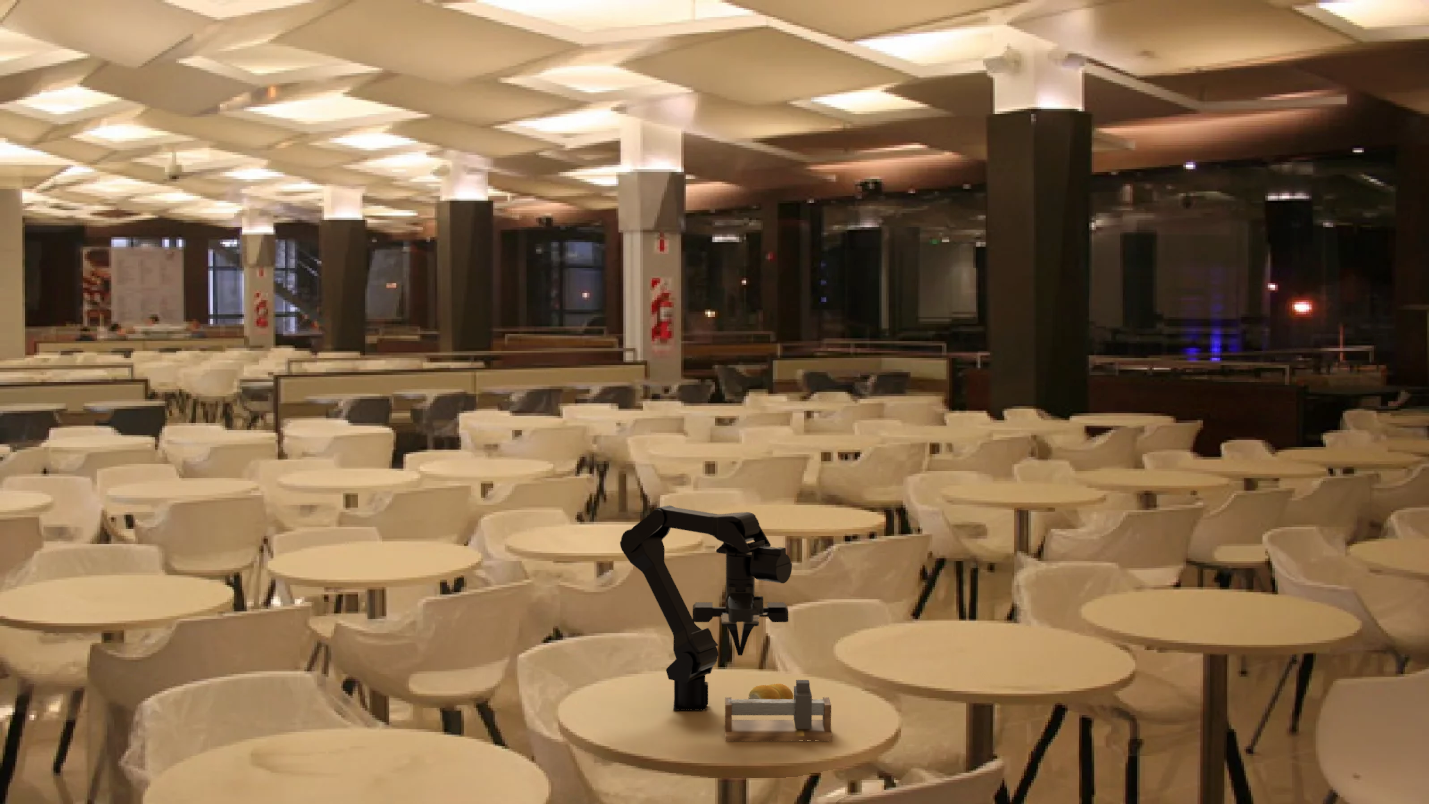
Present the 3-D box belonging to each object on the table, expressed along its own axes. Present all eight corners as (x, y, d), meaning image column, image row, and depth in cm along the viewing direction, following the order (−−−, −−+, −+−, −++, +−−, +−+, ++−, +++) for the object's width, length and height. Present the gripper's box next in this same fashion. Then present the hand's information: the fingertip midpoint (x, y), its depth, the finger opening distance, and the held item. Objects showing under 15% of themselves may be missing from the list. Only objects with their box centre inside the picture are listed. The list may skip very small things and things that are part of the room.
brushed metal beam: (728, 717, 275) (728, 701, 275) (728, 712, 278) (728, 697, 278) (827, 717, 276) (827, 701, 275) (826, 712, 279) (826, 697, 278)
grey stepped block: (795, 728, 274) (795, 686, 273) (793, 718, 280) (793, 677, 280) (811, 728, 274) (811, 686, 273) (809, 718, 280) (809, 677, 280)
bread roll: (800, 704, 297) (800, 685, 296) (765, 711, 292) (765, 692, 291) (777, 694, 303) (777, 675, 303) (741, 701, 299) (741, 682, 298)
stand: (725, 741, 272) (725, 708, 272) (724, 724, 282) (725, 693, 282) (832, 741, 272) (832, 709, 272) (827, 724, 282) (827, 693, 282)
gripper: (692, 585, 277) (692, 666, 278) (790, 585, 277) (789, 666, 278) (692, 573, 288) (692, 651, 289) (786, 573, 288) (786, 651, 289)
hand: (740, 655), depth 286 cm, fingers closed
